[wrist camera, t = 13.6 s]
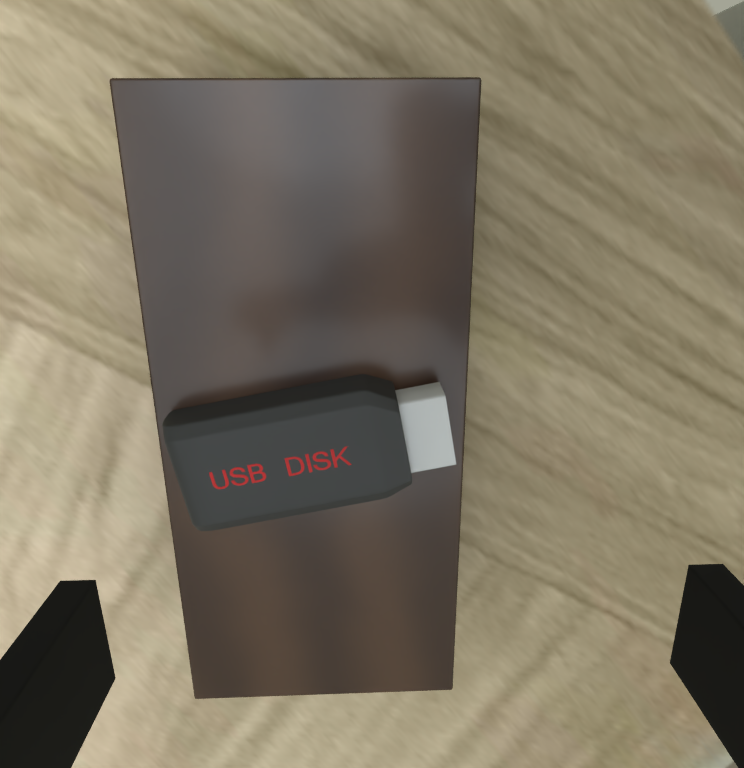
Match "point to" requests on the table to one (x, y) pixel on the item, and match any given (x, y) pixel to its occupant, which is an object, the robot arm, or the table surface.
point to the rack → (308, 351)
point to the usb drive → (305, 448)
